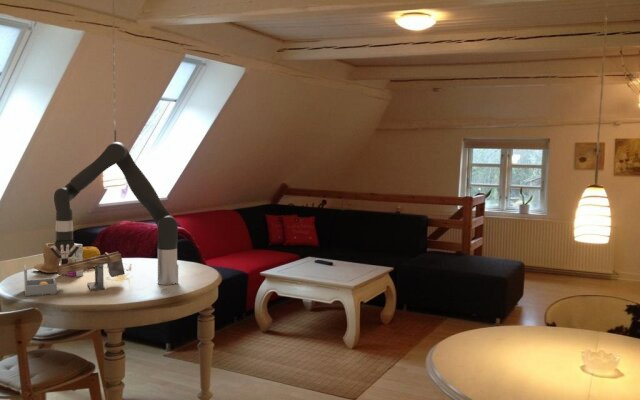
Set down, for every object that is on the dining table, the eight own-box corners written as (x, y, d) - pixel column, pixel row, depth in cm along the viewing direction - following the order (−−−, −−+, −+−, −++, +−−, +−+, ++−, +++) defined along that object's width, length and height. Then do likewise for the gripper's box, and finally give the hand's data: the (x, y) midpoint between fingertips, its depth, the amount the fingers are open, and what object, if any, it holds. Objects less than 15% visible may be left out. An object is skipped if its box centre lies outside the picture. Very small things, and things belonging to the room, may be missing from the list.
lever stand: (100, 283, 284) (100, 259, 282) (104, 289, 272) (104, 264, 271) (87, 284, 281) (87, 260, 280) (91, 290, 269) (90, 265, 268)
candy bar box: (59, 275, 300) (59, 243, 299) (67, 273, 305) (67, 242, 303) (75, 277, 295) (75, 245, 294) (83, 275, 300) (83, 244, 298)
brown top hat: (68, 272, 307) (67, 244, 306) (45, 275, 298) (44, 246, 297) (55, 267, 317) (54, 240, 316) (32, 271, 308) (32, 242, 307)
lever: (119, 268, 291) (115, 247, 289) (124, 274, 279) (120, 252, 277) (59, 283, 278) (54, 261, 276) (62, 290, 266) (57, 267, 264)
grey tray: (54, 287, 274) (54, 262, 273) (56, 293, 263) (56, 267, 262) (24, 290, 268) (23, 264, 267) (25, 296, 257) (24, 269, 255)
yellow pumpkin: (70, 267, 320) (70, 246, 319) (93, 264, 329) (93, 243, 328) (82, 270, 311) (82, 249, 310) (105, 267, 321) (104, 246, 320)
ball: (49, 283, 268) (41, 279, 267) (50, 285, 265) (42, 281, 263) (44, 291, 268) (36, 287, 266) (45, 293, 264) (37, 288, 262)
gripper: (78, 228, 281) (78, 263, 283) (48, 229, 275) (48, 265, 277) (80, 230, 275) (80, 266, 276) (49, 231, 269) (49, 268, 270)
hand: (64, 266), depth 276 cm, fingers closed
